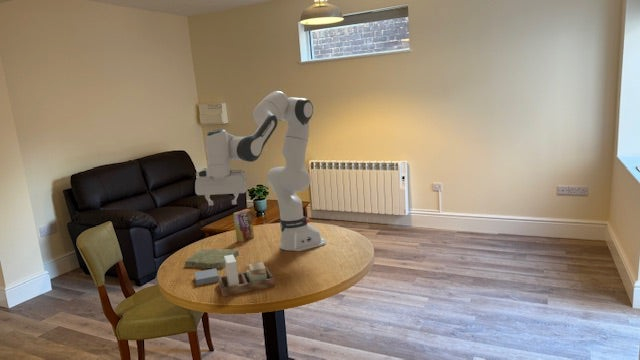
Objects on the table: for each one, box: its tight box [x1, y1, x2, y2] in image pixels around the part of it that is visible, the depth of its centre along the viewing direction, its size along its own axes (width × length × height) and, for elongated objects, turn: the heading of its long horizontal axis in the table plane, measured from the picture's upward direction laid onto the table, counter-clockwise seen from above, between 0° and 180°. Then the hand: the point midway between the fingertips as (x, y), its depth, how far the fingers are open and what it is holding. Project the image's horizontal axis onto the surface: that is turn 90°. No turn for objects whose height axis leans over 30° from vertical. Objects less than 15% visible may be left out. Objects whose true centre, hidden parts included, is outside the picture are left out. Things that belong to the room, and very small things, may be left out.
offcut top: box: [248, 261, 266, 276], centre depth 181 cm, size 6×8×2 cm
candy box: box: [232, 208, 255, 243], centre depth 239 cm, size 9×4×15 cm, turn 140°
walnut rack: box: [218, 266, 275, 297], centre depth 180 cm, size 20×13×4 cm, turn 109°
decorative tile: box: [183, 248, 240, 269], centre depth 211 cm, size 19×20×4 cm
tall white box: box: [224, 255, 240, 287], centre depth 178 cm, size 4×9×12 cm, turn 19°
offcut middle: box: [246, 269, 267, 282], centre depth 181 cm, size 6×8×2 cm
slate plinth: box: [194, 268, 220, 287], centre depth 189 cm, size 9×9×2 cm
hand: (222, 204), depth 183 cm, fingers open, 8 cm apart
